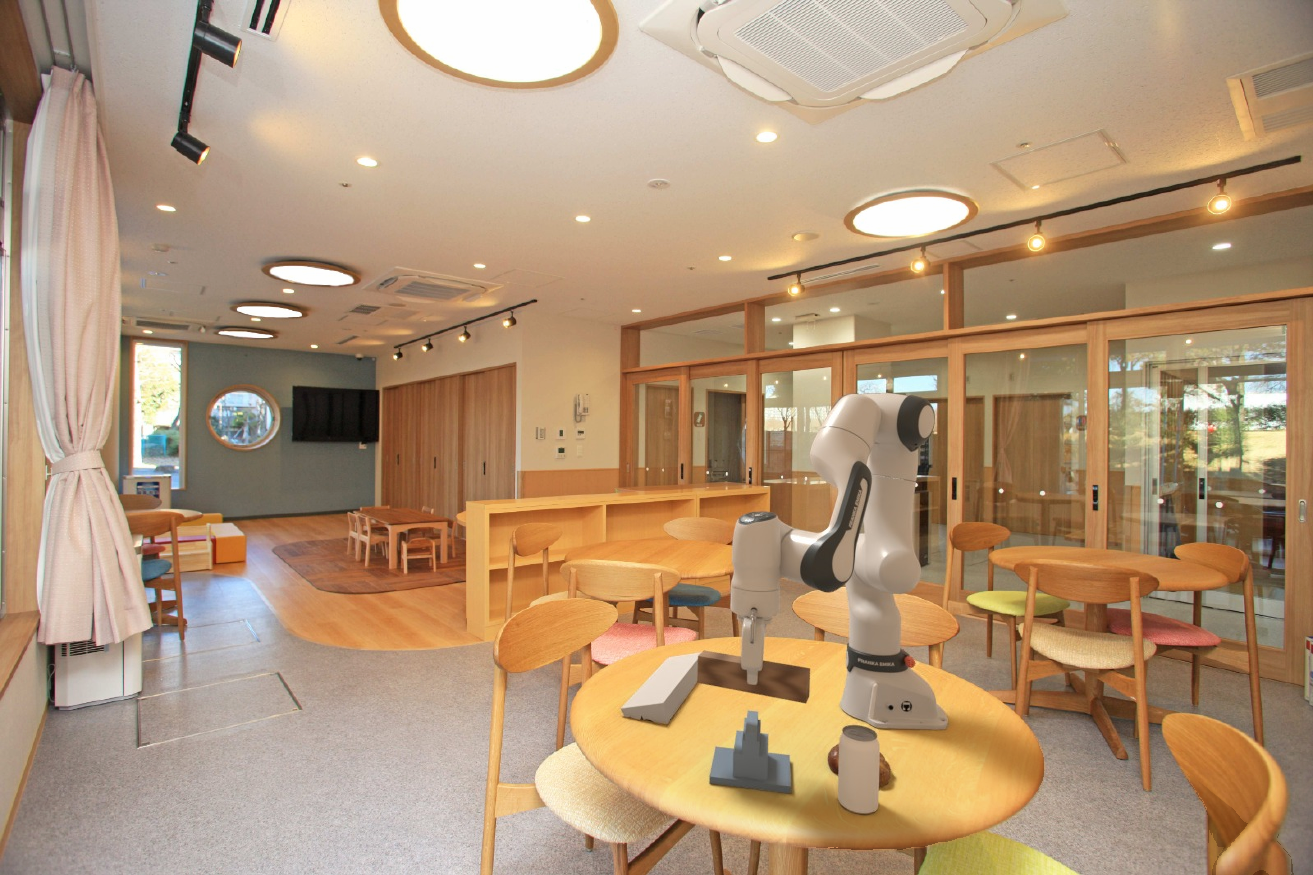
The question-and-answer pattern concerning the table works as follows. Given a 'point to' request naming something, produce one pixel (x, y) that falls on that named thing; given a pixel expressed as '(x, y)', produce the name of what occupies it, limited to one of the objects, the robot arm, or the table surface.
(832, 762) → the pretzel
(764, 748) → the gray stepped block
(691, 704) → the table surface
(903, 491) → the robot arm
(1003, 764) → the table surface
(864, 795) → the can
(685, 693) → the beige long block
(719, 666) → the walnut bar
